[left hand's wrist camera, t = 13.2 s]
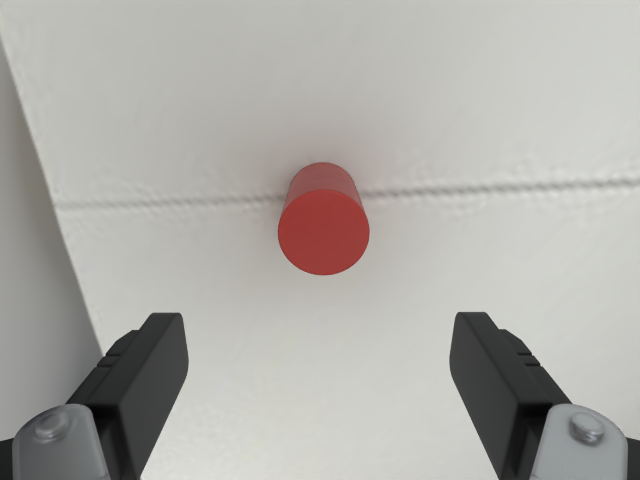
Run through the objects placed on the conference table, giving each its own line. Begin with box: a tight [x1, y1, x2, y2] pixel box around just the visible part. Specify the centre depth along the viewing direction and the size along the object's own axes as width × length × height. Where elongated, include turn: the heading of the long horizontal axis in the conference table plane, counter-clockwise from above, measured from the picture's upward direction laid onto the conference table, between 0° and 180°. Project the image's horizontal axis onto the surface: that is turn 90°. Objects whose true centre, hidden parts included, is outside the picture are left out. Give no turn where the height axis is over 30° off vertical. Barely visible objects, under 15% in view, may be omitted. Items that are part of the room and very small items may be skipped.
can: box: [278, 163, 370, 275], centre depth 23 cm, size 5×5×8 cm
